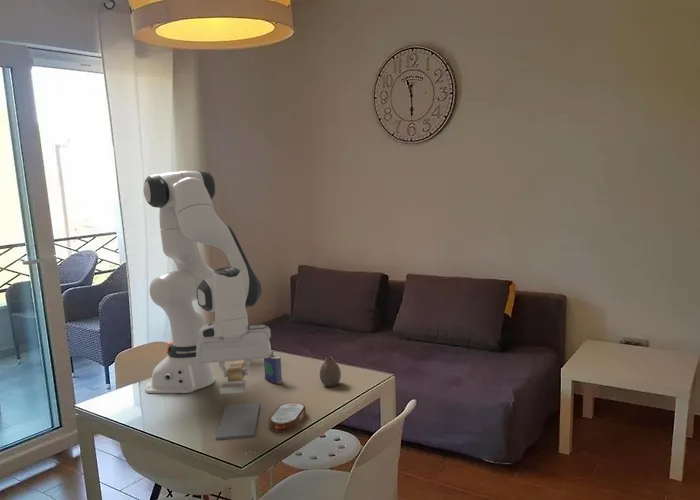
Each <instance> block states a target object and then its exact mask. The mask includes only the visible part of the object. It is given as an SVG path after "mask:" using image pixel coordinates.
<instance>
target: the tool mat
mask: <svg viewBox="0 0 700 500" xmlns="http://www.w3.org/2000/svg"><path fill="white" fill-rule="evenodd" d="M260 407H261V403H248V404H234V405H225V407H224V411H223V414H222V417H221V420H220V423H219V427H218V430H217V432H216V435H215V440H217V441H221V440H233V439H242V438H243V439H244V438H254V437H255V435H256V430H257V423H258V418H259V412H260Z"/></svg>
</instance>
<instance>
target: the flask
mask: <svg viewBox="0 0 700 500" xmlns="http://www.w3.org/2000/svg"><path fill="white" fill-rule="evenodd" d="M274 352H275V350H274V349H273V350H271V355H270V356H269V357H268V358H263V363H264V380H265V381H267V382H269V383H270V384H274V385H281V384H283V377H282V376H283V375H282V373H283V372H282V362H281V361H282V358H281V356H279V355H275V354H274Z"/></svg>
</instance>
